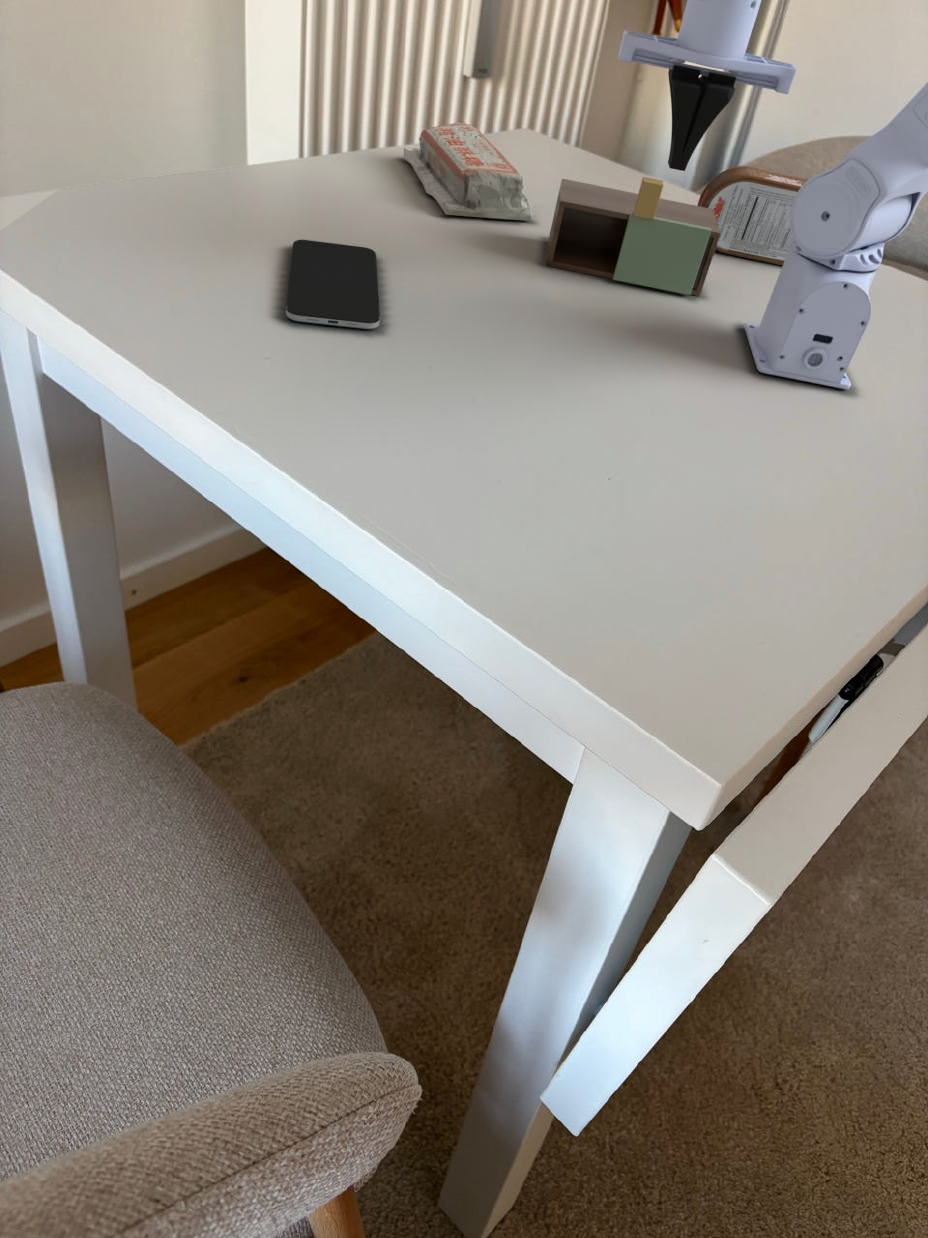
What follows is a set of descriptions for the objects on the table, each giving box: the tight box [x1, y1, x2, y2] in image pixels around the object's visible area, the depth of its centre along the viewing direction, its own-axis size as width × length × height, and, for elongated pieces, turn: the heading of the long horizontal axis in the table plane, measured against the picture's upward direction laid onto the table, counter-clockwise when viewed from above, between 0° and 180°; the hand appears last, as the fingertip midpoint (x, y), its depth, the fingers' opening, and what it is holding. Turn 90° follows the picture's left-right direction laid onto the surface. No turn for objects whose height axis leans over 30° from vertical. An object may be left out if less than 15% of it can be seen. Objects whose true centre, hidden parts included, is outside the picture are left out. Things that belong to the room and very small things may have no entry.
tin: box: [696, 165, 810, 266], centre depth 97 cm, size 15×3×8 cm, turn 84°
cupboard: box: [545, 178, 721, 297], centre depth 90 cm, size 7×15×6 cm, turn 84°
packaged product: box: [403, 121, 536, 222], centre depth 100 cm, size 18×5×10 cm
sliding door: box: [612, 176, 711, 296], centre depth 85 cm, size 1×8×9 cm, turn 84°
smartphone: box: [285, 239, 381, 330], centre depth 77 cm, size 7×1×15 cm
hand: (676, 166), depth 83 cm, fingers closed
